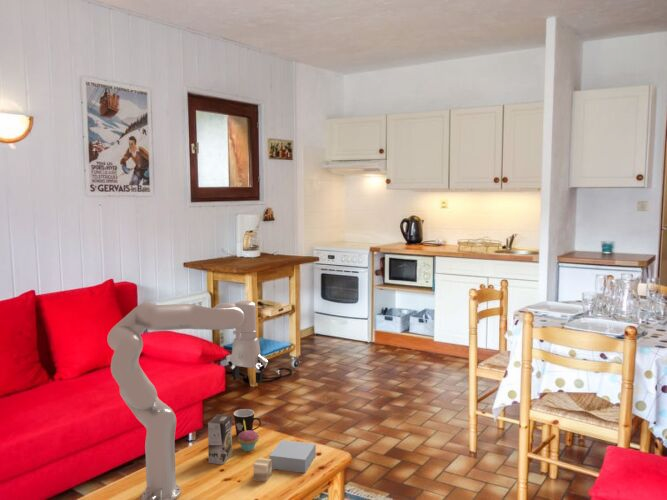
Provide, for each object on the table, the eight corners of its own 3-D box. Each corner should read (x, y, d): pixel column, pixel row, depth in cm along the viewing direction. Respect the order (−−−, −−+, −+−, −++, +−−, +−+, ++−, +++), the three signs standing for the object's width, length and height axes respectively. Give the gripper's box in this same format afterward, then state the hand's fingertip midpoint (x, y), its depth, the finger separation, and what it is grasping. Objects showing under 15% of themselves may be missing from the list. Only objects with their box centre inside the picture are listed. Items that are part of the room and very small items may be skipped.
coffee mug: (230, 435, 248) (229, 412, 247) (247, 429, 254) (246, 407, 253) (245, 444, 239) (244, 420, 238) (262, 438, 245) (262, 415, 244)
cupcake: (233, 451, 233) (233, 422, 232) (243, 442, 241) (242, 414, 240) (253, 454, 230) (253, 424, 229) (262, 445, 238) (262, 416, 237)
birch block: (266, 481, 209) (266, 465, 208) (253, 480, 210) (253, 464, 210) (271, 475, 214) (271, 459, 213) (258, 473, 215) (258, 457, 214)
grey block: (305, 472, 216) (305, 459, 215) (269, 468, 219) (269, 455, 218) (315, 456, 229) (315, 443, 229) (281, 452, 232) (281, 440, 232)
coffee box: (224, 464, 222) (223, 423, 220) (208, 463, 223) (207, 422, 221) (232, 454, 231) (232, 414, 229) (217, 452, 232) (216, 413, 230)
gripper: (220, 335, 214) (221, 380, 216) (261, 339, 207) (262, 386, 209) (231, 330, 221) (233, 374, 223) (271, 334, 214) (273, 380, 216)
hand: (247, 380), depth 216 cm, fingers open, 9 cm apart
